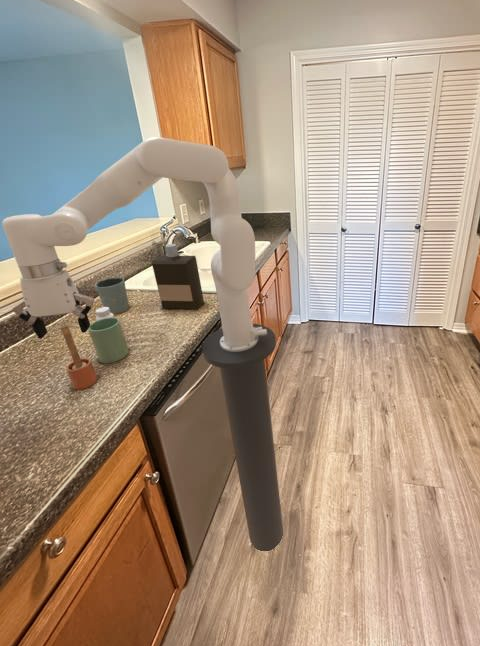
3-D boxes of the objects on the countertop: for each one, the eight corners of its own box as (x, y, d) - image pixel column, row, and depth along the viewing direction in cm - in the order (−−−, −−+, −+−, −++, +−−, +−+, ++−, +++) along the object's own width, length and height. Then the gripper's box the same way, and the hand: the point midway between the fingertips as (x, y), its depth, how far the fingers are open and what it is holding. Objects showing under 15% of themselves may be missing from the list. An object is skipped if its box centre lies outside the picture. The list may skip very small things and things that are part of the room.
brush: (93, 376, 89) (73, 322, 83) (89, 383, 87) (68, 328, 80) (80, 378, 89) (59, 324, 82) (76, 385, 86) (54, 330, 79)
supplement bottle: (101, 340, 108) (93, 314, 104) (100, 333, 112) (92, 308, 108) (119, 335, 110) (112, 309, 106) (118, 329, 115) (110, 304, 111)
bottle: (170, 300, 135) (156, 242, 125) (206, 301, 132) (195, 242, 122) (159, 309, 127) (144, 248, 118) (197, 310, 125) (185, 248, 115)
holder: (100, 374, 91) (93, 356, 89) (93, 387, 86) (86, 368, 84) (78, 377, 90) (71, 360, 88) (69, 391, 85) (62, 372, 83)
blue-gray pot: (118, 302, 135) (110, 276, 131) (137, 305, 132) (130, 278, 127) (97, 313, 127) (88, 285, 122) (117, 316, 123) (108, 288, 119)
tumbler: (131, 345, 104) (122, 315, 100) (125, 360, 97) (115, 328, 92) (104, 350, 102) (93, 319, 98) (95, 365, 95) (83, 333, 91)
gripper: (88, 260, 80) (106, 321, 87) (8, 268, 77) (33, 330, 83) (76, 270, 73) (97, 335, 80) (-13, 279, 70) (17, 346, 77)
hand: (64, 332), depth 82 cm, fingers open, 9 cm apart
